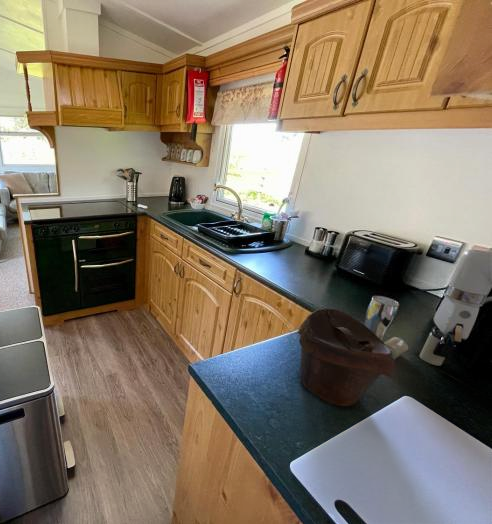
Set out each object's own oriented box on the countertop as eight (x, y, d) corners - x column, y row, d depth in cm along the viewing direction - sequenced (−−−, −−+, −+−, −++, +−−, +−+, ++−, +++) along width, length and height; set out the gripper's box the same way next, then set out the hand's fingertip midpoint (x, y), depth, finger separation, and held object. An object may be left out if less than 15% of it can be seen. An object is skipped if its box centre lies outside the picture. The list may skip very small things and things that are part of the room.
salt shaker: (401, 335, 87) (388, 343, 82) (412, 351, 85) (398, 360, 80) (383, 339, 91) (369, 347, 86) (393, 355, 89) (379, 363, 84)
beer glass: (360, 345, 91) (375, 302, 86) (354, 333, 97) (368, 293, 92) (387, 351, 89) (404, 308, 84) (379, 339, 95) (395, 298, 90)
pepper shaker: (438, 358, 87) (452, 332, 84) (444, 368, 83) (458, 341, 80) (417, 352, 89) (429, 327, 86) (421, 361, 85) (434, 334, 82)
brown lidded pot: (361, 435, 60) (393, 365, 54) (272, 376, 75) (289, 316, 69) (388, 398, 70) (417, 336, 64) (305, 353, 85) (322, 299, 79)
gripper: (499, 312, 70) (465, 371, 76) (470, 288, 84) (443, 340, 90) (457, 302, 73) (428, 360, 80) (436, 281, 87) (412, 331, 94)
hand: (436, 349), depth 85 cm, fingers open, 6 cm apart
